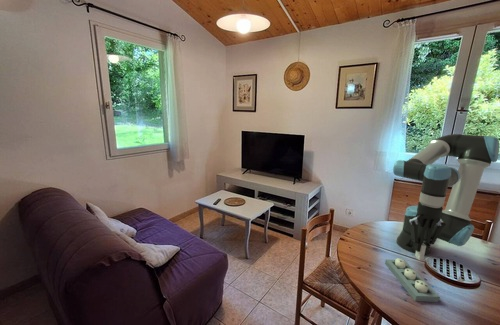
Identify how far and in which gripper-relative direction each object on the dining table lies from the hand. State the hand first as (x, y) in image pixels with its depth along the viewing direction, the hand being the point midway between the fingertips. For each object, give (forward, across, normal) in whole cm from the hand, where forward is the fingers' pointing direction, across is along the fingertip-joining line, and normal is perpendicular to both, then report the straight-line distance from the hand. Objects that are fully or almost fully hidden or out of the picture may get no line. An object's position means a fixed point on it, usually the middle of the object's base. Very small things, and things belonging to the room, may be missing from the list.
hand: (418, 258), depth 91 cm
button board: (+14, -1, -4) cm, 15 cm away
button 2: (+13, -1, -4) cm, 14 cm away
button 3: (+13, -1, +3) cm, 13 cm away
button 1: (+13, -1, -11) cm, 17 cm away
